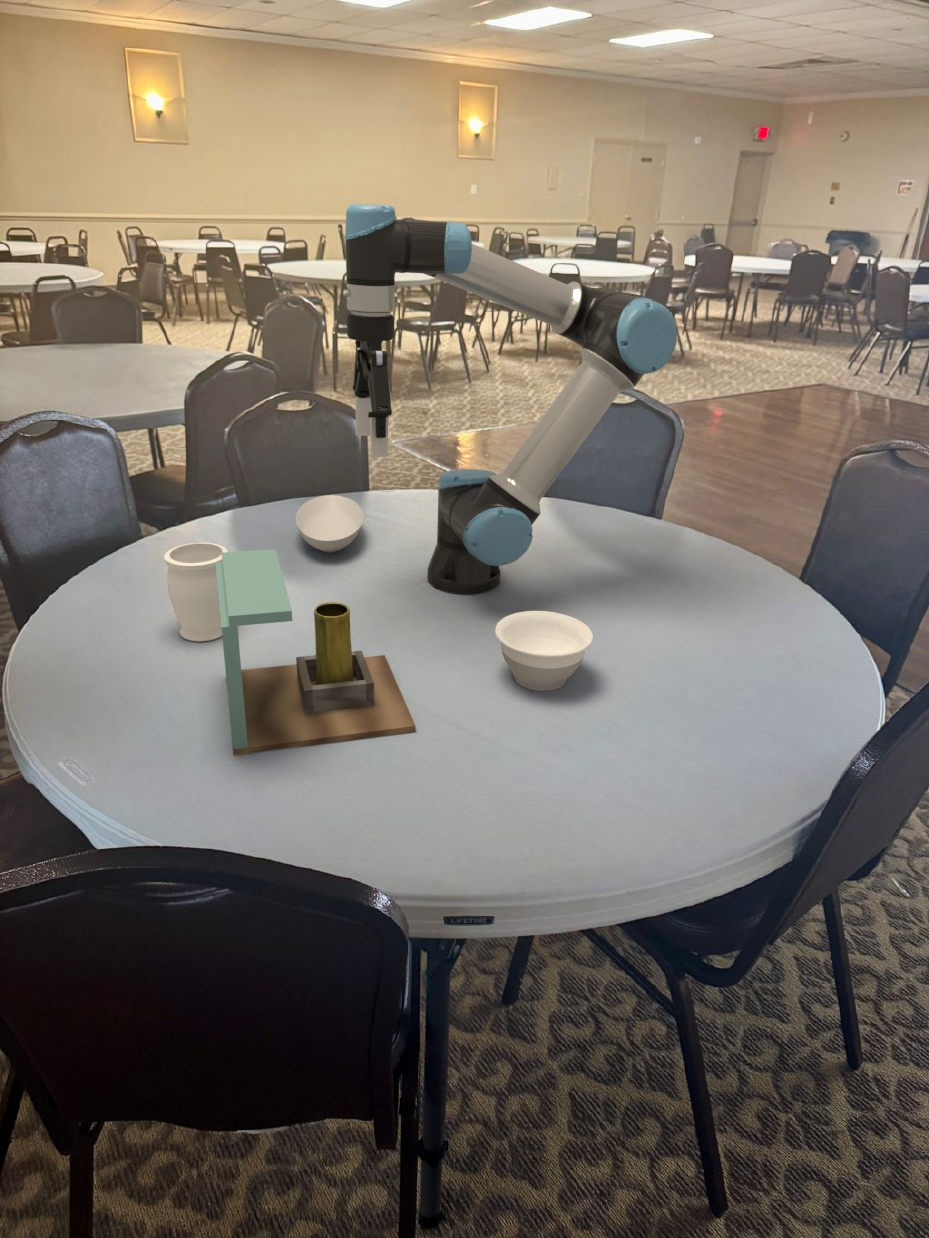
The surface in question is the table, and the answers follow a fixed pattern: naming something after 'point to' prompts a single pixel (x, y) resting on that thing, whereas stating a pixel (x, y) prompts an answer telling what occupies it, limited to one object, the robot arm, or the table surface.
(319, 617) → the vase
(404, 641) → the table surface
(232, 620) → the green l-shaped post
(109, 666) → the table surface
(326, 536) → the bowl
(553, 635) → the bowl
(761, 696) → the table surface
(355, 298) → the robot arm
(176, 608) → the jar
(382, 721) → the socket board
